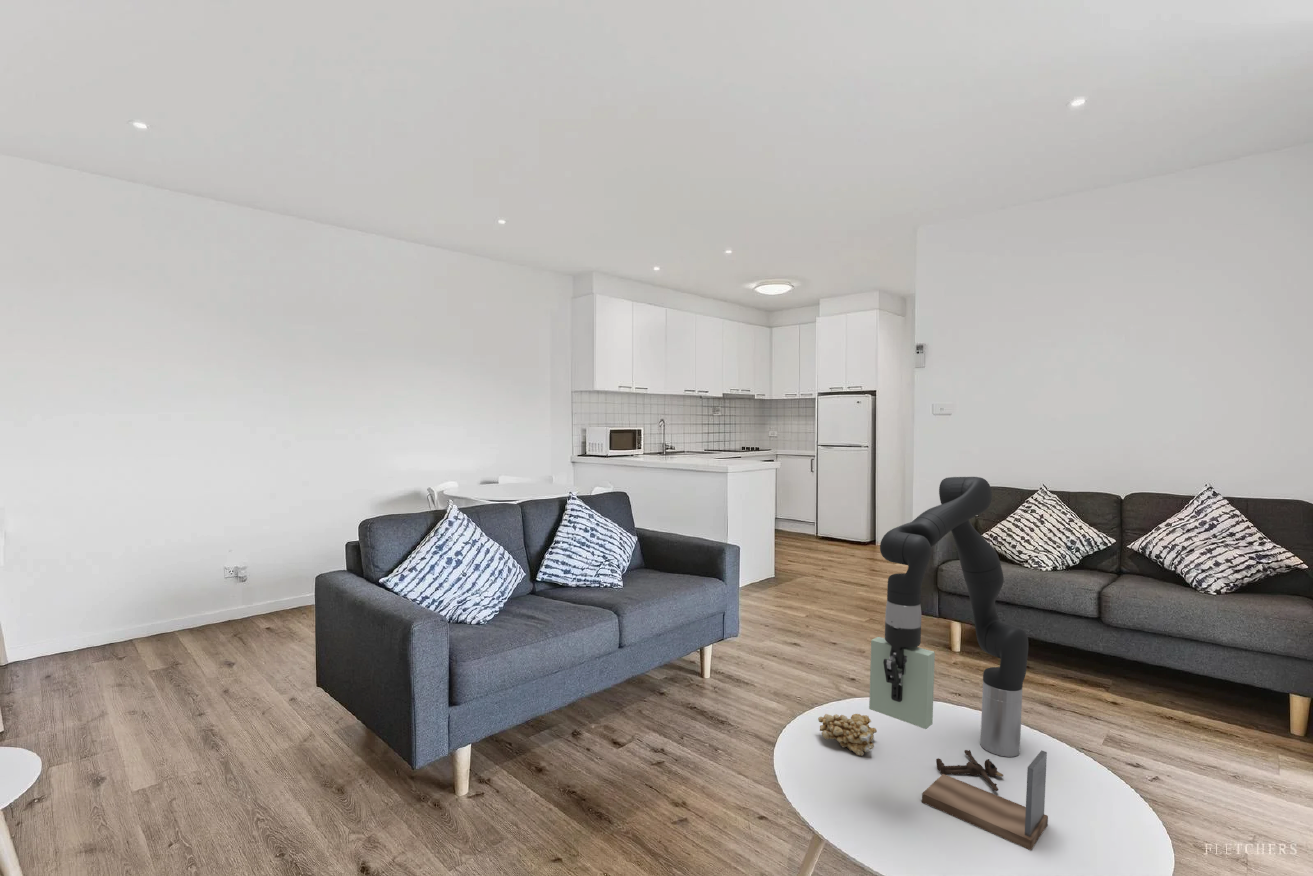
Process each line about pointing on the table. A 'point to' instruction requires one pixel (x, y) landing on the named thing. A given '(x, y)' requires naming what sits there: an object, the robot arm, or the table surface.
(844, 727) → the mineral formation
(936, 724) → the table surface
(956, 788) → the walnut shelf board
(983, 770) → the wooden monkey figure
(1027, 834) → the grey metal bookend
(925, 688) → the sage book
